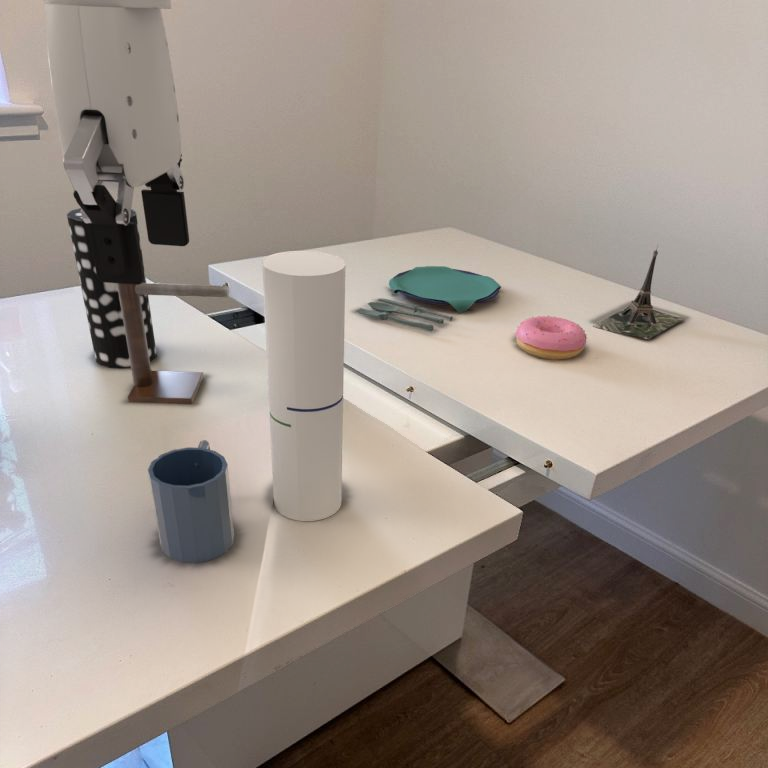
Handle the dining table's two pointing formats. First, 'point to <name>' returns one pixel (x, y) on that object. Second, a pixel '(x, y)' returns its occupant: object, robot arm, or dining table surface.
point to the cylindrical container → (305, 380)
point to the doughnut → (551, 337)
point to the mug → (192, 503)
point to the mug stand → (146, 381)
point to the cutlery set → (434, 293)
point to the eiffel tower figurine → (640, 314)
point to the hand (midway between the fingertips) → (147, 261)
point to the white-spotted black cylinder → (105, 302)
